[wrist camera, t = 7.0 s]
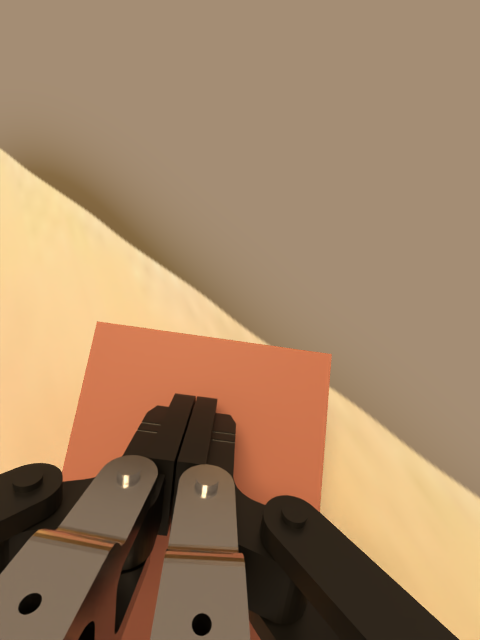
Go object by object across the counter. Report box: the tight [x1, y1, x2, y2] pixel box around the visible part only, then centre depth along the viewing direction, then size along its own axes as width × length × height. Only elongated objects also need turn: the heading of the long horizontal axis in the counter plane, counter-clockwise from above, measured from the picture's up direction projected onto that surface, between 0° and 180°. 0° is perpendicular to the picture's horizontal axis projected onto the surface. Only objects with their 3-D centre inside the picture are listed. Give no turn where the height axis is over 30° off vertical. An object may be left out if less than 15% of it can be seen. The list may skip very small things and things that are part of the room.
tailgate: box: [62, 322, 331, 640], centre depth 12 cm, size 2×9×15 cm
